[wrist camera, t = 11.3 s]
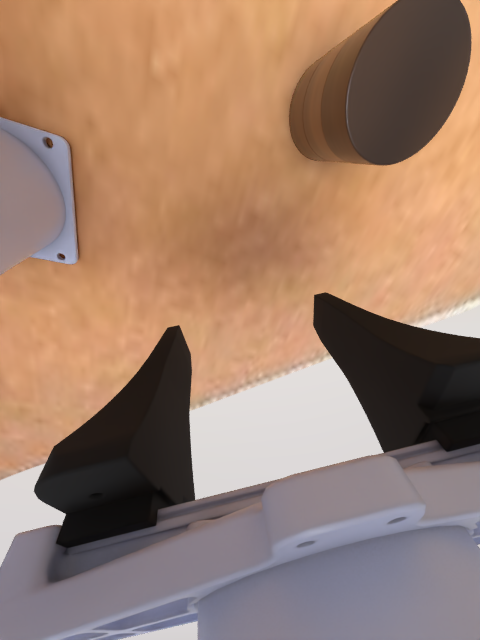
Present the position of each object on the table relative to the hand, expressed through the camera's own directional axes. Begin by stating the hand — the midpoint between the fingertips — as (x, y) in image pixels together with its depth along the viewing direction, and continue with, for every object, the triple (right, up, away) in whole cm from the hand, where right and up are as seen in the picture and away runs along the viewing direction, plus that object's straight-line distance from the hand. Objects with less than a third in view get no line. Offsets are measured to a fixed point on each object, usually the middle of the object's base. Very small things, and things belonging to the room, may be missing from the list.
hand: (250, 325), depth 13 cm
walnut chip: (+6, +11, -1) cm, 13 cm away
